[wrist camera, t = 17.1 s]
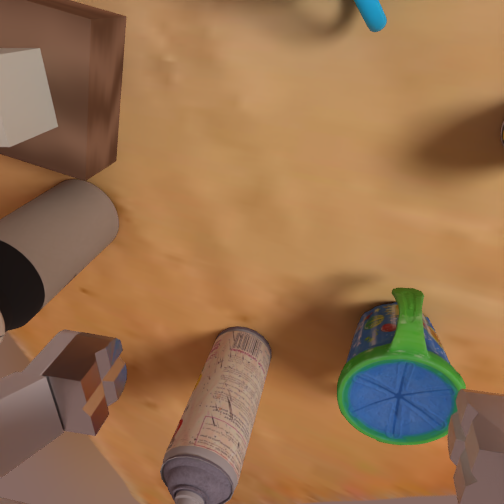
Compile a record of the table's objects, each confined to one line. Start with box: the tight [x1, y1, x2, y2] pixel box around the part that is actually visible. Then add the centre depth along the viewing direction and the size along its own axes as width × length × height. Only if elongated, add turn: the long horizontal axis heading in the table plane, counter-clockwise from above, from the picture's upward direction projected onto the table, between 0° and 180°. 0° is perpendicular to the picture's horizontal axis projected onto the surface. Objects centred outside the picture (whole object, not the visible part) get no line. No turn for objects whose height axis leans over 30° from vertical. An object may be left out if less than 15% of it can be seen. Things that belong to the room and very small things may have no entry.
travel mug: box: [0, 179, 119, 343], centre depth 41 cm, size 8×8×18 cm
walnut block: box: [0, 0, 126, 181], centre depth 39 cm, size 13×13×6 cm
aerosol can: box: [160, 327, 271, 504], centre depth 44 cm, size 7×7×20 cm
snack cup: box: [337, 288, 466, 445], centre depth 42 cm, size 16×10×10 cm
